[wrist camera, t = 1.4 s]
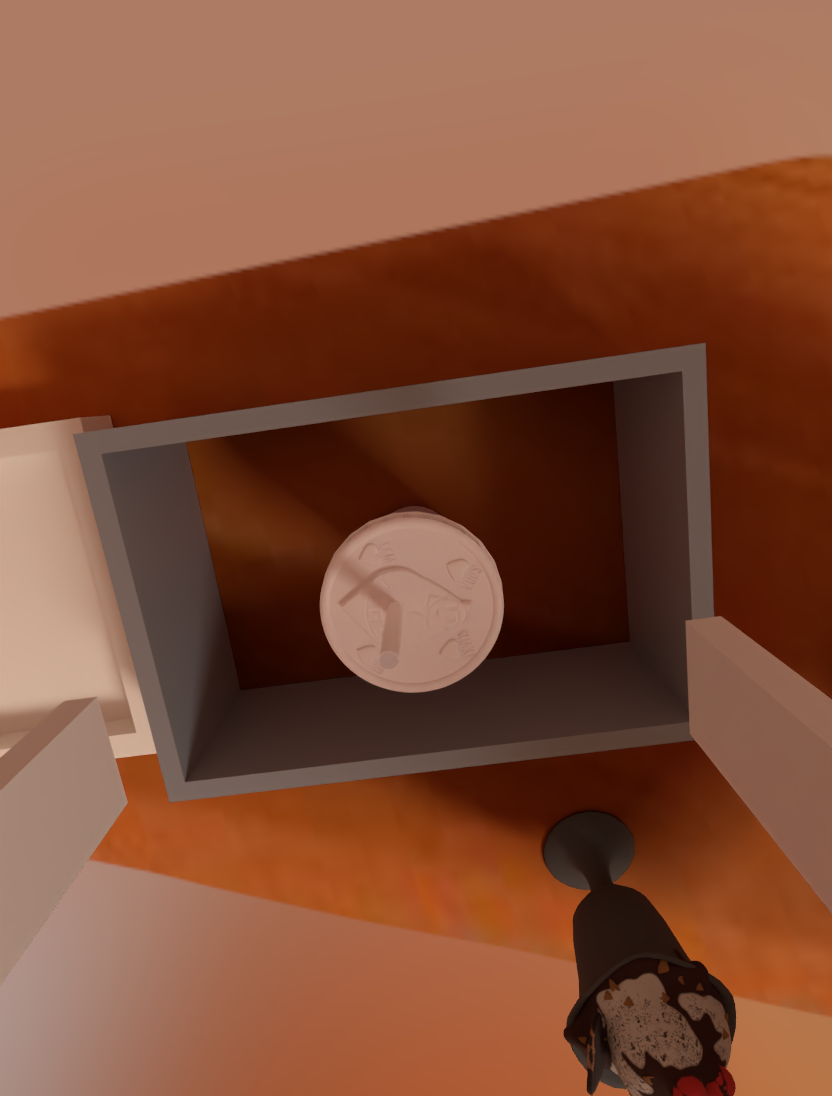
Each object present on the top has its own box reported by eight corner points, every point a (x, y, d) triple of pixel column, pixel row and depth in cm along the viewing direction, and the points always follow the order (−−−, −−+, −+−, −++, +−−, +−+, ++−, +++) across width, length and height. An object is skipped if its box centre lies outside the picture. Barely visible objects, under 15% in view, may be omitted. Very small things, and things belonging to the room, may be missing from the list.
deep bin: (629, 356, 29) (705, 342, 21) (646, 654, 32) (717, 737, 24) (164, 423, 30) (72, 433, 22) (228, 706, 33) (169, 802, 25)
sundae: (675, 835, 35) (857, 1155, 20) (598, 919, 36) (717, 1276, 22) (578, 773, 34) (696, 1061, 19) (504, 862, 35) (562, 1194, 21)
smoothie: (351, 473, 30) (292, 541, 17) (485, 480, 30) (538, 554, 17) (347, 602, 32) (291, 760, 18) (476, 608, 32) (516, 771, 18)
